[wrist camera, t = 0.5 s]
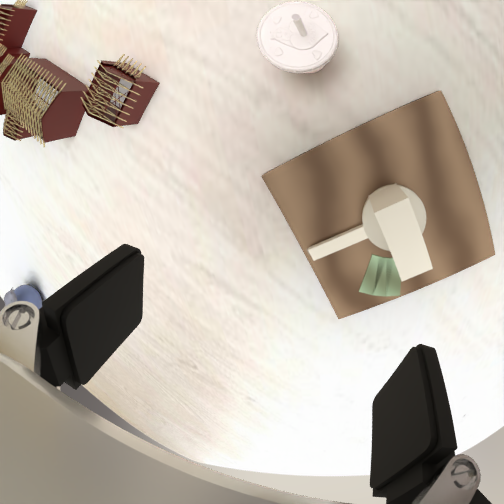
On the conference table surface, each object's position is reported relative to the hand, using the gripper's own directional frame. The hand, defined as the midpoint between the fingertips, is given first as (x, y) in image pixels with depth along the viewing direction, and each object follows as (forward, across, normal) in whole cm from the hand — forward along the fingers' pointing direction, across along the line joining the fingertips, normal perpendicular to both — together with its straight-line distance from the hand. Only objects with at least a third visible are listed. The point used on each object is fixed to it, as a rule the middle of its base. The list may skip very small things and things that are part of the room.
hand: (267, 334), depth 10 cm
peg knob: (+24, -6, +3) cm, 25 cm away
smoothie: (+26, +4, -13) cm, 30 cm away
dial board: (+26, -9, +1) cm, 28 cm away
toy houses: (+27, +44, -8) cm, 52 cm away
